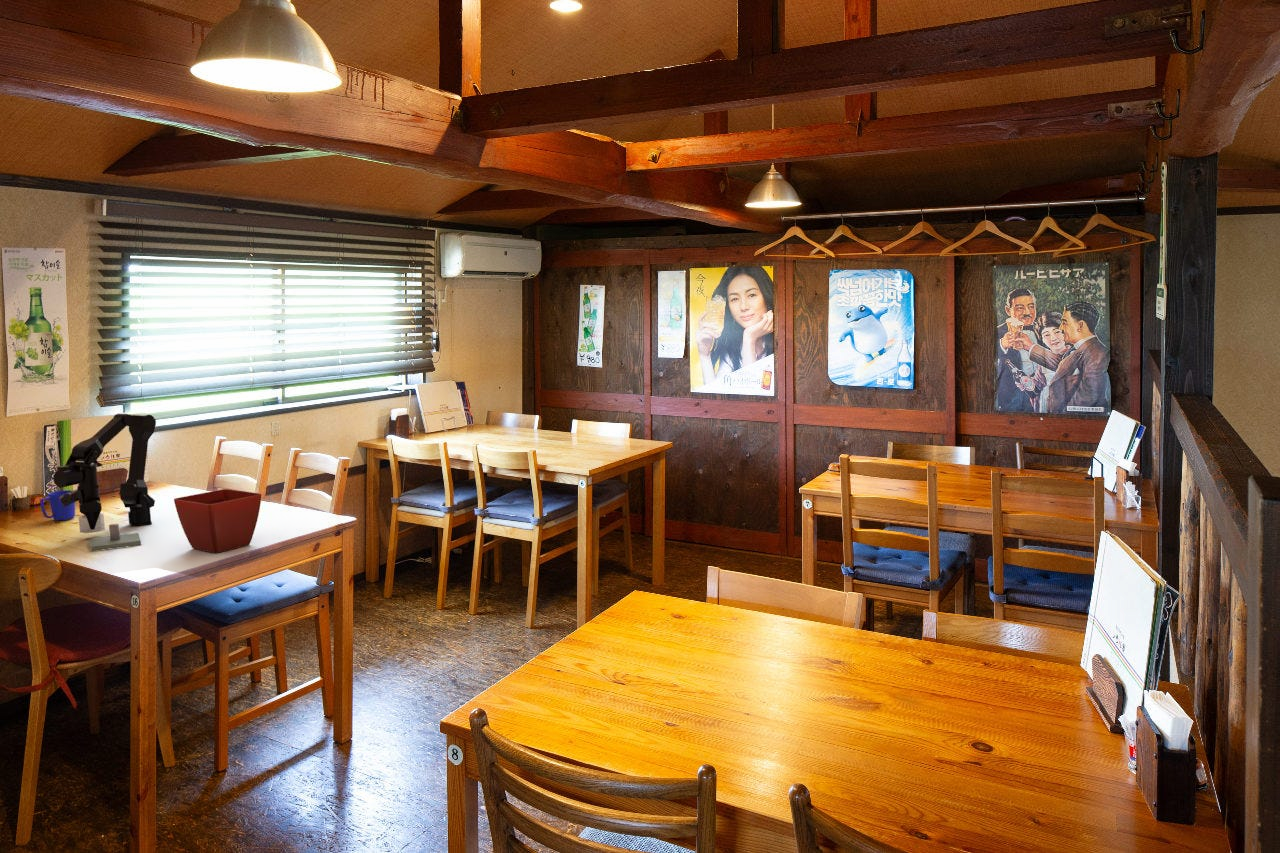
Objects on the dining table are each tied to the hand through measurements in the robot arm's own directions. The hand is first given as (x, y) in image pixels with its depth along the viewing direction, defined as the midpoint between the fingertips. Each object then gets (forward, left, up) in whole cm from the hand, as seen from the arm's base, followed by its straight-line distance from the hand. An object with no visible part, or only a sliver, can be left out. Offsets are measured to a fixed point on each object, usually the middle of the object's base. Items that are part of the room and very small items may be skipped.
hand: (92, 527), depth 307 cm
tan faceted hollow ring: (0, 0, -1) cm, 1 cm away
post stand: (-6, +14, -4) cm, 16 cm away
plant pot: (-35, +37, -4) cm, 51 cm away
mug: (+10, -36, -4) cm, 38 cm away
